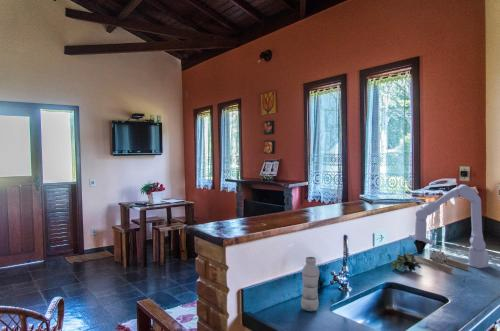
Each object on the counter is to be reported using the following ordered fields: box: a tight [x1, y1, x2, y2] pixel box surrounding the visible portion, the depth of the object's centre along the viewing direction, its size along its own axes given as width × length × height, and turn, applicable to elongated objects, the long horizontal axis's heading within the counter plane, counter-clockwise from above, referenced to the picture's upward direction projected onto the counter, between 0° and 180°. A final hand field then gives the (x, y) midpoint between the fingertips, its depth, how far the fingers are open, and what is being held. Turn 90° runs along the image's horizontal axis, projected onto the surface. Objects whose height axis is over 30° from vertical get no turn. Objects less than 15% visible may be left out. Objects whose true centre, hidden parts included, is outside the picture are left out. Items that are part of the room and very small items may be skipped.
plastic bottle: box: [300, 256, 320, 312], centre depth 139 cm, size 6×7×20 cm
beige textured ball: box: [428, 249, 450, 265], centre depth 197 cm, size 9×8×10 cm
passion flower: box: [390, 252, 422, 274], centre depth 186 cm, size 11×11×12 cm
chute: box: [413, 252, 469, 274], centre depth 197 cm, size 14×22×3 cm, turn 25°
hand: (419, 253), depth 208 cm, fingers closed
